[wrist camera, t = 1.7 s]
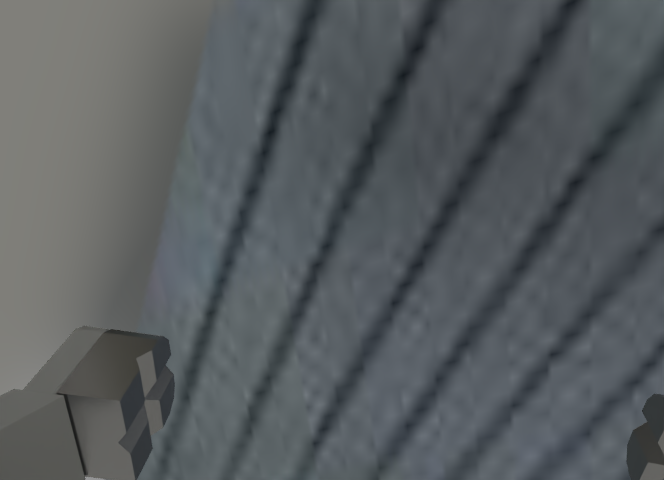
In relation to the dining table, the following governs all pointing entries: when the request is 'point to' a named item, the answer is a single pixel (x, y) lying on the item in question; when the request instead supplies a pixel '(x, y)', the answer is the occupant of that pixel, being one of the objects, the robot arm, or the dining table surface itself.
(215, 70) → the dining table surface
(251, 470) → the dining table surface
